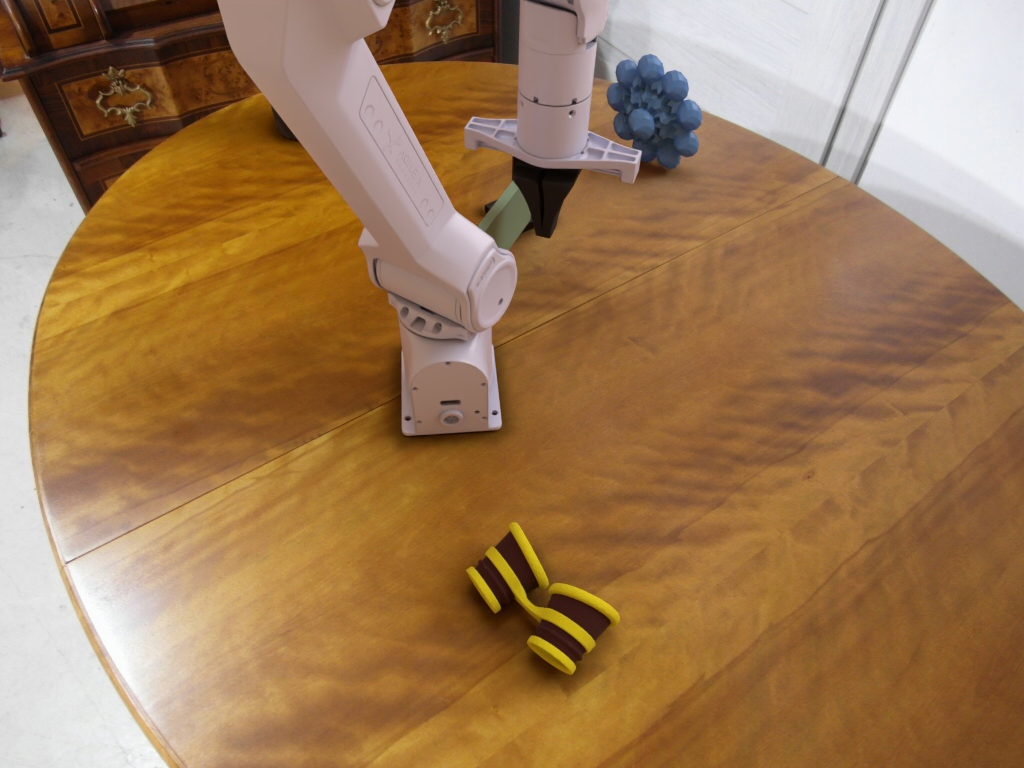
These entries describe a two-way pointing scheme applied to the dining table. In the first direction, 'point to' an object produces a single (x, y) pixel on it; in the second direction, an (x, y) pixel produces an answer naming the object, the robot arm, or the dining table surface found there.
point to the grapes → (654, 111)
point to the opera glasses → (562, 622)
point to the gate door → (506, 217)
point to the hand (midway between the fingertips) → (545, 230)
